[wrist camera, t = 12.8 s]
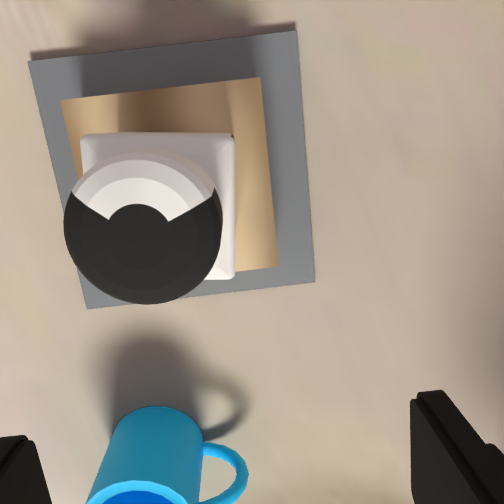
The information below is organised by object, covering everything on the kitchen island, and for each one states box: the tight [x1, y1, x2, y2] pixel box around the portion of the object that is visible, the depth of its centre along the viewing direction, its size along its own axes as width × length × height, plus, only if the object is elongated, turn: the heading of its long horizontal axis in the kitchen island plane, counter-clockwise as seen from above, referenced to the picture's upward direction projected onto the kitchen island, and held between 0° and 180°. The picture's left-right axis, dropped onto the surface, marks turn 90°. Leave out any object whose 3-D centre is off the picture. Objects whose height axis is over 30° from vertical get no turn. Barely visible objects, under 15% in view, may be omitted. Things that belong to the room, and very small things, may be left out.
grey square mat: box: [28, 30, 315, 309], centre depth 32 cm, size 18×18×1 cm
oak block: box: [60, 77, 279, 272], centre depth 29 cm, size 12×12×4 cm
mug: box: [86, 406, 249, 504], centre depth 34 cm, size 12×8×8 cm
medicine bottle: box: [63, 132, 235, 305], centre depth 22 cm, size 7×7×12 cm
